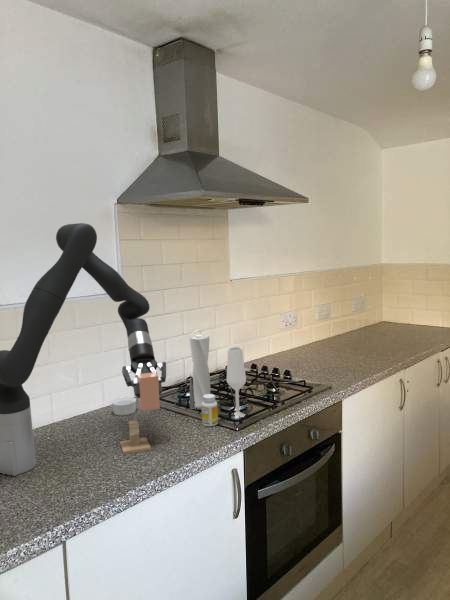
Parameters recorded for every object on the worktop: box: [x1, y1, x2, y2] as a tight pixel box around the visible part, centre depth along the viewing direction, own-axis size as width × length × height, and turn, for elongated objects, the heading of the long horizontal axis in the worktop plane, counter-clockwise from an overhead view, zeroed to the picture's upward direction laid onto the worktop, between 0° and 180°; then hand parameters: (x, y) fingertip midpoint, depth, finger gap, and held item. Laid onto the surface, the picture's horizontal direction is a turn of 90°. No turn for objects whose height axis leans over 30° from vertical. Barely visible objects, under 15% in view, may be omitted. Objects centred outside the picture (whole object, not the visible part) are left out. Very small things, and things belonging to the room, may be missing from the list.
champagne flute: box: [226, 346, 247, 417], centre depth 169 cm, size 7×7×24 cm
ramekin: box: [111, 396, 137, 416], centre depth 180 cm, size 9×9×4 cm
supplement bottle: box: [201, 393, 219, 427], centre depth 165 cm, size 5×5×10 cm
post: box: [119, 419, 152, 455], centre depth 149 cm, size 8×8×8 cm
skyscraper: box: [188, 328, 211, 410], centre depth 182 cm, size 8×8×28 cm
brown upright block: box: [137, 372, 161, 412], centre depth 150 cm, size 6×6×10 cm
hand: (149, 395), depth 148 cm, fingers closed on brown upright block, 5 cm apart
